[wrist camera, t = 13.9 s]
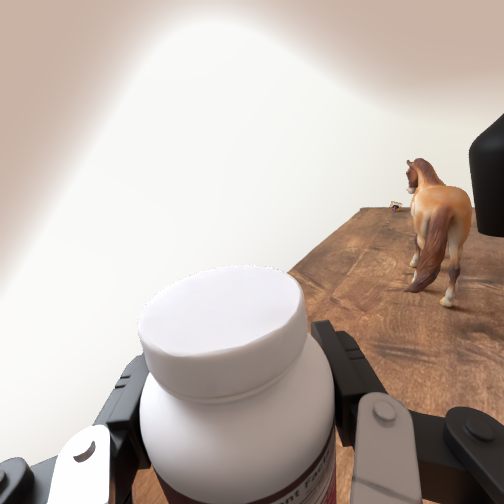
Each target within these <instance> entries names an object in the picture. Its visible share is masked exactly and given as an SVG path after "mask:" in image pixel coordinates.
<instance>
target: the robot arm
mask: <svg viewBox="0 0 504 504" xmlns="http://www.w3.org/2000/svg"><path fill="white" fill-rule="evenodd" d="M311 336H312V337H313V338H314V339H315V340H316V341H317V342H318V344H319V345H320V347H321V348H322V350H323V352H324V354H325V355H326V357H327V360H328V362H329V365H330V368H331V372H332V377H333V382H334V396H335V425H336V428H337V430H338V433H339V436H340V439H341V442H342V445H343V447H348V446H352V447H353V449H354V452H355V455H354V468H353V477H352V482H351V493H350V504H423V501H422V499H426V500H429V501H433V502H436V503H440V504H504V426H503V425H502V424H501V423H499V422H498V421H497V420H495V419H494V418H493V417H491V416H489V415H487V414H486V413H483V412H481V411H479V410H476V409H473V408H469V407H454V408H452V409H450V410H449V411H448V412H447V414H446V417H445V418H443V417H438V416H433V415H427V414H422V413H417V412H414V411H411V410H409V409H407V408H406V407H405V406H404V405H403V404H402V403H401V402H400V401H399V400H397V399H396V398H394V397H392V396H390V395H389V394H388V393H387V392H386V390H385V388H384V387H383V385H382V383H381V382H380V380H379V379H378V377H377V375H376V374H375V372H374V370H373V369H372V367H371V366H370V364H369V362H368V361H367V359H365V356H364V354H363V353H362V351H361V350H360V348H359V346H358V344H357V343H356V341H355V340H354V338H353V337H351V336H350V335H349V334H347V333H346V332H345V331H336V332H335V330H334V329H333V327H332V325H331V323H330V321H329V320H324V321H316V322H311ZM149 372H150V371H149V369H148V367H147V363H146V358H145V354H144V352H143V354H142V355H141V356H137V357H136V358H134V360H132V361H131V362H130V363H129V364H128V365H127V366H126V368H125V370H124V372H123V373H122V375H121V377H120V379H119V381H118V382H117V384H116V386H115V389H113V391H112V393H111V394H110V396H109V398H108V399H107V401H106V403H105V405H104V406H103V408H102V410H101V412H100V413H99V415H98V417H97V419H96V420H95V422H94V424H93V425H92V427H89V428H87V429H85V430H83V431H81V432H80V433H78V434H77V435H76V436H74V437H73V438H72V439H71V440H70V441H69V442H68V443H67V444H66V445H65V447H64V448H63V449H62V451H61V452H60V454H59V455H57V456H55V457H52V458H50V459H47V460H45V461H43V462H41V463H38V464H36V465H33V466H31V467H29V466H28V464H27V463H26V461H25V460H24V459H22V458H19V457H17V458H11V459H8V460H6V461H4V462H1V463H0V504H137V502H136V488H135V484H134V479H135V476H136V473H137V470H141V469H149V468H150V467H151V461H150V459H149V456H148V453H147V450H146V448H145V445H144V442H143V438H142V434H141V428H140V402H141V396H142V392H143V388H144V385H145V382H146V379H147V377H148V374H149Z"/></svg>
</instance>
